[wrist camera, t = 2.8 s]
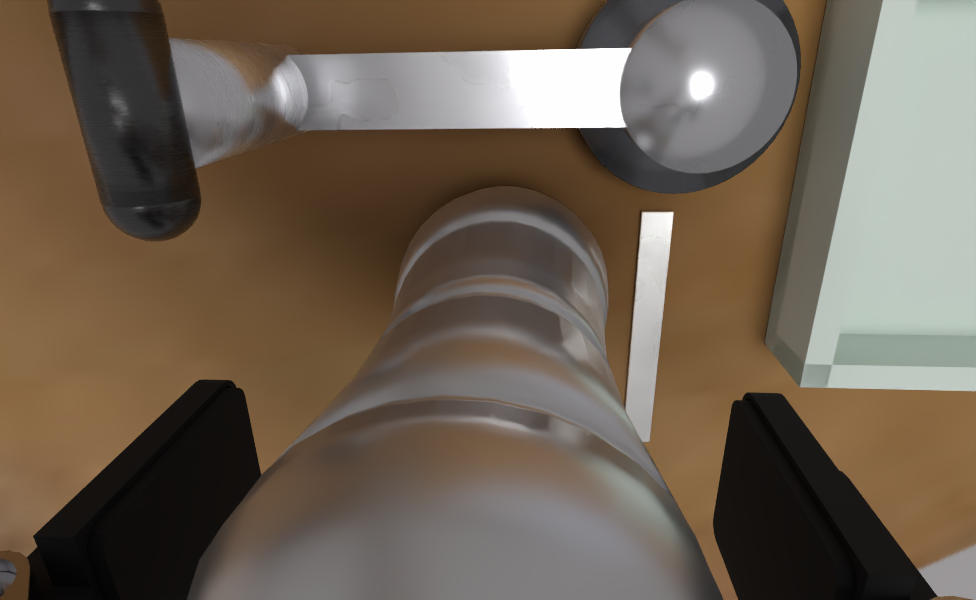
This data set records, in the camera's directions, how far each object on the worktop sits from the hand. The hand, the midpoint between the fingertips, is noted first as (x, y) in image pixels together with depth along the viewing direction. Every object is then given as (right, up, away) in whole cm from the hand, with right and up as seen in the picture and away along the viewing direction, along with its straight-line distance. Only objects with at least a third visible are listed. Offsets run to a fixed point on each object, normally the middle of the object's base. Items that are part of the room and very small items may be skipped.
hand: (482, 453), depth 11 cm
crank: (0, +9, +5) cm, 10 cm away
